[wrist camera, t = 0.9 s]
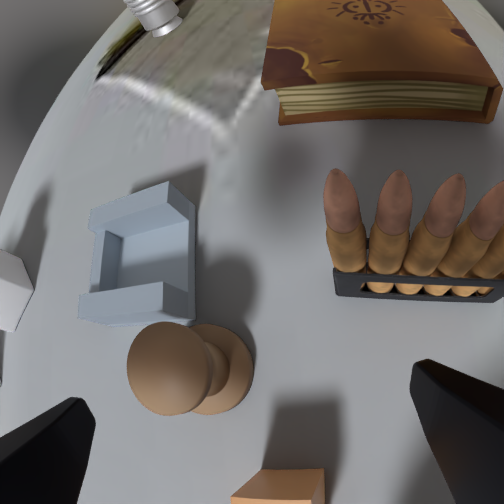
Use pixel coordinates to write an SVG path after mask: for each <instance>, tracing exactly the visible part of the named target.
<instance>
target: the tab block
mask: <svg viewBox="0 0 504 504" xmlns="http://www.w3.org/2000/svg"><path fill="white" fill-rule="evenodd" d="M231 504H325V478H324V468H318V469H292V470H268V469H261V470H260V471H259V472H258V473H257V474H255V475H254V476H253V477H252V478H251V479H250V480H249V481H248V482H247V483H246V484H244V485H243V486H242V487H241V488H240V489H239V490H238V491H237V492H235V493H234V494H233V495H232V496H231Z"/></svg>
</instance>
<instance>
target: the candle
mask: <svg viewBox="0 0 504 504" xmlns="http://www.w3.org/2000/svg"><path fill="white" fill-rule="evenodd" d="M124 3H127V6H128V8H130V10H131V12H134V16H135V17H138V18H139V20H140V22H141V23H142V25H143V27H144V28H145V30H152V33H153V37H159V36H162V35H164V34H167V33H168V32H170V31H172V30H173V29H175V28H176V27H177V26H179V25H180V24H181V23H182V21H183V19H182V18H180V17H179V16H177V14H178V13H179V8H178V7H177V6H176V5H175V3H174V2H173V1H172V0H124Z"/></svg>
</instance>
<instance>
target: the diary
mask: <svg viewBox="0 0 504 504" xmlns="http://www.w3.org/2000/svg"><path fill="white" fill-rule="evenodd" d="M261 84H262V86H263V88H264V90H270V89H275V90H276V93H277V95H278V98H279V100H280V109H279V120H278V123H279V125H280V126H281V125H290V124H301V123H312V122H325V121H342V120H365V119H425V120H448V121H463V122H475V123H485V124H488V123H490V122H492V121H493V119H494V116H495V113H496V110H497V107H498V104H499V101H500V98H501V95H502V91H503V88H502V86H501V84H500V82H499V81H498V79H497V77H496V75H495V74H494V72H493V70H492V69H491V67H490V65H489V64H488V62H487V61H486V59H485V58H484V56H483V54H482V53H481V51H480V50H479V48H478V47H477V45H476V44H475V43H474V41H473V40H472V38H471V37H470V35H469V34H468V33H467V31H466V30H465V29H464V27H463V26H462V25H461V23H460V22H459V21H458V19H457V18H456V17H455V16H454V14H453V13H452V12H451V11H450V9H449V8H448V7H447V6H446V5H445V3H444V2H443V1H442V0H275V2H274V8H273V13H272V19H271V24H270V30H269V36H268V42H267V48H266V53H265V59H264V65H263V71H262V77H261Z"/></svg>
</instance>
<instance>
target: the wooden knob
mask: <svg viewBox="0 0 504 504" xmlns="http://www.w3.org/2000/svg"><path fill="white" fill-rule="evenodd" d="M253 374H254V367H253V361H252V357H251V354H250V351H249V349H248V348H247V346H246V344H245V343H244V342H243V340H242V339H241V338H240V337H239V336H238V335H236V334H235V333H234V332H232V331H230V330H229V329H226V328H223V327H220V326H216V325H213V324H199V325H194V326H191V327H186V326H184V325H181V324H177V323H173V322H167V321H162V322H156V323H153V324H151V325H149V326H147V327H146V328H144V329H143V330H142V331H141V332H140V333H139V334H138V335H137V336H136V338H135V339H134V341H133V343H132V345H131V347H130V350H129V353H128V358H127V375H128V380H129V384H130V386H131V389H132V391H133V393H134V395H135V396H136V398H137V399H138V400H139V402H140V403H141V404H142V405H143V406H144V407H146V408H147V409H148V410H150V411H152V412H154V413H156V414H159V415H164V416H172V415H178V414H183V413H187V412H189V411H192V412H195V413H198V414H203V415H213V414H218V413H221V412H225V411H228V410H230V409H232V408H234V407H235V406H237V405H238V404H239V403H240V402H241V401H242V400H243V399H244V398H245V397H246V395H247V393H248V392H249V390H250V387H251V385H252V381H253Z"/></svg>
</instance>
